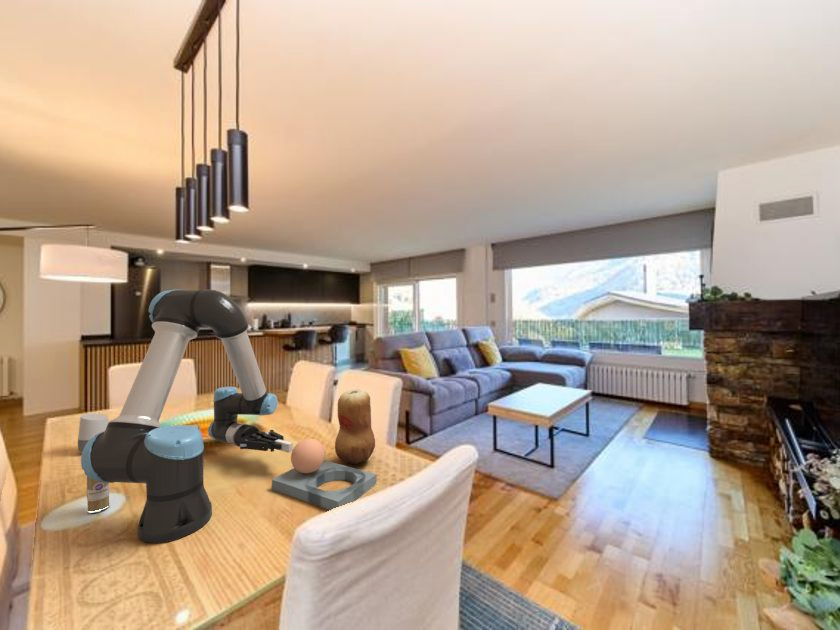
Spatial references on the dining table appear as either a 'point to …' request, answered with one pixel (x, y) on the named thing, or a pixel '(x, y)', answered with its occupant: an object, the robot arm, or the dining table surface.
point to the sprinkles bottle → (97, 494)
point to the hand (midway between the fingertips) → (290, 447)
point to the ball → (308, 456)
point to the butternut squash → (354, 427)
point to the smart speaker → (90, 427)
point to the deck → (307, 483)
